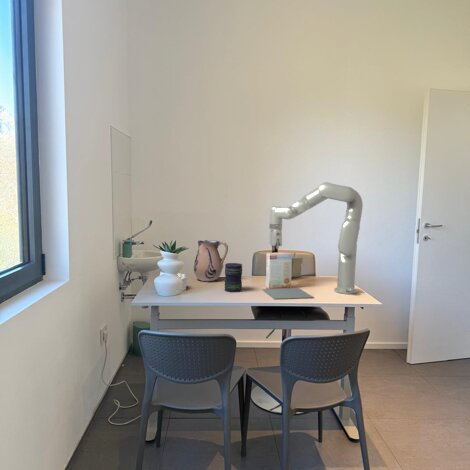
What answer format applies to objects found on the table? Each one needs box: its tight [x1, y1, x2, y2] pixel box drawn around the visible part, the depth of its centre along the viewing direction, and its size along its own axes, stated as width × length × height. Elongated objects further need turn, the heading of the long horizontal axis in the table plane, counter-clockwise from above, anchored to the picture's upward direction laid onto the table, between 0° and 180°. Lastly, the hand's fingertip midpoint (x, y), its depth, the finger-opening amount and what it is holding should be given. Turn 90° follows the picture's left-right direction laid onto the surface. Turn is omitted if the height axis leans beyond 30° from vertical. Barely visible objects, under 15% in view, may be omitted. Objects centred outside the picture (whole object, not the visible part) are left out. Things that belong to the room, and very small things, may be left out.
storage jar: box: [224, 262, 243, 293], centre depth 233 cm, size 10×10×18 cm
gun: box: [291, 256, 304, 279], centre depth 272 cm, size 24×3×15 cm, turn 143°
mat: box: [262, 287, 314, 301], centre depth 229 cm, size 22×22×1 cm
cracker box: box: [265, 252, 293, 289], centre depth 242 cm, size 14×6×21 cm, turn 106°
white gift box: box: [175, 272, 187, 293], centre depth 233 cm, size 10×13×9 cm
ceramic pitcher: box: [193, 239, 229, 282], centre depth 259 cm, size 18×21×25 cm
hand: (274, 257), depth 250 cm, fingers closed
